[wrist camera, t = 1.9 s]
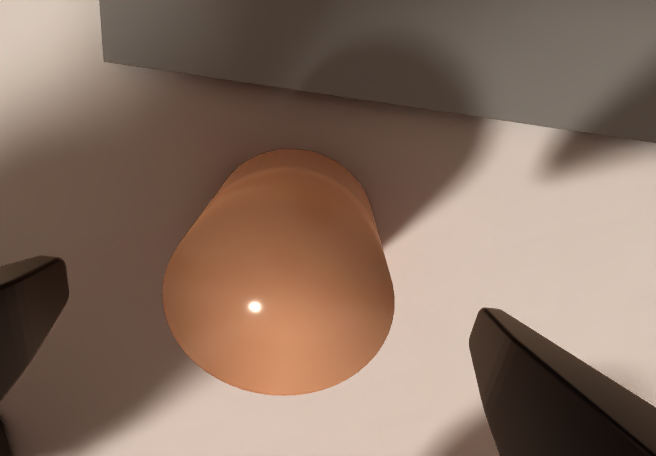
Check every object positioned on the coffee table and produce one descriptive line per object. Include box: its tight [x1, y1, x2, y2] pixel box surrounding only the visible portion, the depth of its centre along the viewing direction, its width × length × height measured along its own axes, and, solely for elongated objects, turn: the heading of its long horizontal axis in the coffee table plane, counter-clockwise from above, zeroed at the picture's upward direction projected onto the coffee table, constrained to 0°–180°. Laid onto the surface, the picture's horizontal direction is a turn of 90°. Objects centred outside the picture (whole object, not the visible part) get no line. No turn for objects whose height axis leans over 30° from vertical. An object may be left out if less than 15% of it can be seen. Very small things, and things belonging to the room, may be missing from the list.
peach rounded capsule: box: [162, 149, 394, 396], centre depth 11 cm, size 5×5×4 cm
